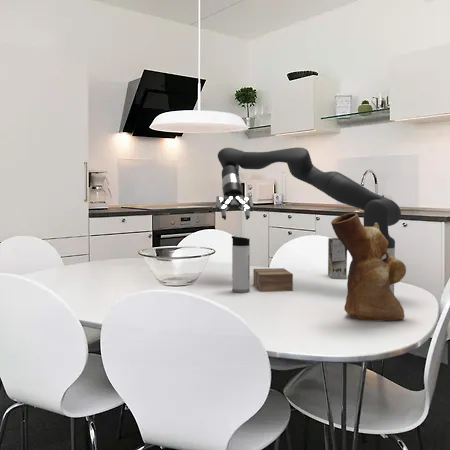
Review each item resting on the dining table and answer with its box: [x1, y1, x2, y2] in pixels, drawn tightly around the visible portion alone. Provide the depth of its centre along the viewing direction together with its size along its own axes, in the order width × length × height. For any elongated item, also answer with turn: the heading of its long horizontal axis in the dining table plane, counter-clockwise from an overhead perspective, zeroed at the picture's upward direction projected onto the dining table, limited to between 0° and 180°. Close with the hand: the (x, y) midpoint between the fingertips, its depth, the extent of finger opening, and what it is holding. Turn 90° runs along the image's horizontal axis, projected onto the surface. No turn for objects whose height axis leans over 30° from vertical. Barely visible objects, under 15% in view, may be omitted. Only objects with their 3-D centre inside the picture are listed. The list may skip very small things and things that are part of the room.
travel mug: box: [231, 235, 251, 294], centre depth 186 cm, size 6×7×20 cm
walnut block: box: [252, 267, 294, 292], centre depth 194 cm, size 14×12×6 cm
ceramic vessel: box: [330, 212, 407, 322], centre depth 147 cm, size 16×22×30 cm
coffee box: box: [327, 237, 348, 279], centre depth 217 cm, size 9×6×16 cm
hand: (236, 218), depth 195 cm, fingers open, 8 cm apart
